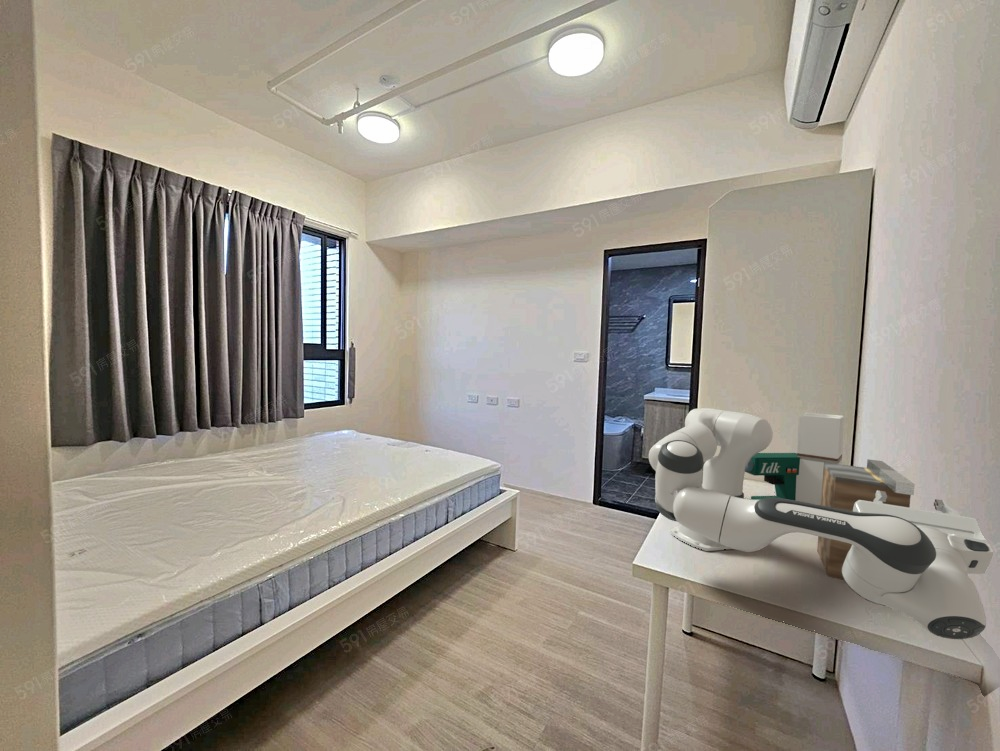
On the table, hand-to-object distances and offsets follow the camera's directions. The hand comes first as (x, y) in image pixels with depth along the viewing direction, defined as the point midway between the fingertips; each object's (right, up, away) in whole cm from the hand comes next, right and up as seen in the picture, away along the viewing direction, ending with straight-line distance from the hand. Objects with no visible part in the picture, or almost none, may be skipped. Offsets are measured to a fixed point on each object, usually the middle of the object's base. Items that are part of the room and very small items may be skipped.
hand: (908, 497), depth 89 cm
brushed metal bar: (+6, +1, +11) cm, 13 cm away
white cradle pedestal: (+26, -23, +59) cm, 69 cm away
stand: (+5, -25, +19) cm, 32 cm away
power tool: (+7, -23, +61) cm, 65 cm away
